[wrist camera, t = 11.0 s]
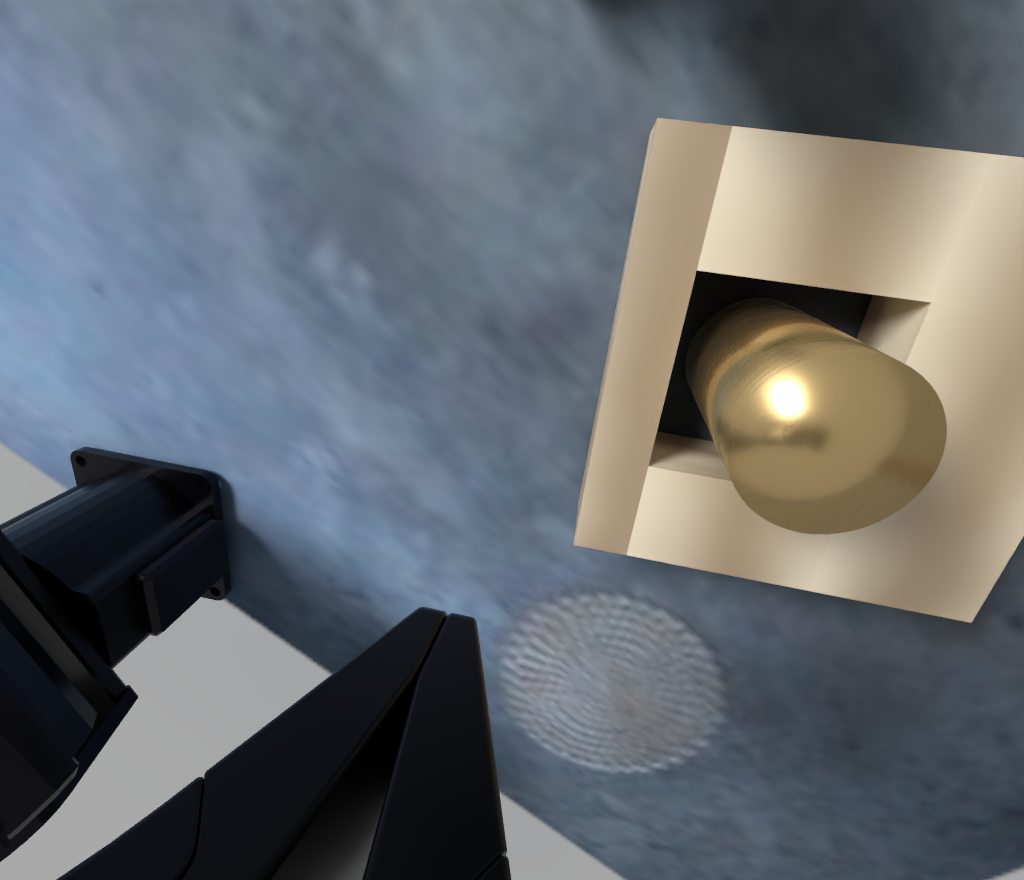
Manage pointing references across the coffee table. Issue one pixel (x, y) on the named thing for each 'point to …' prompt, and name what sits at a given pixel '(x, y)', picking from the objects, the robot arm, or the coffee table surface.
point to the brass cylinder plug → (812, 418)
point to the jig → (886, 327)
